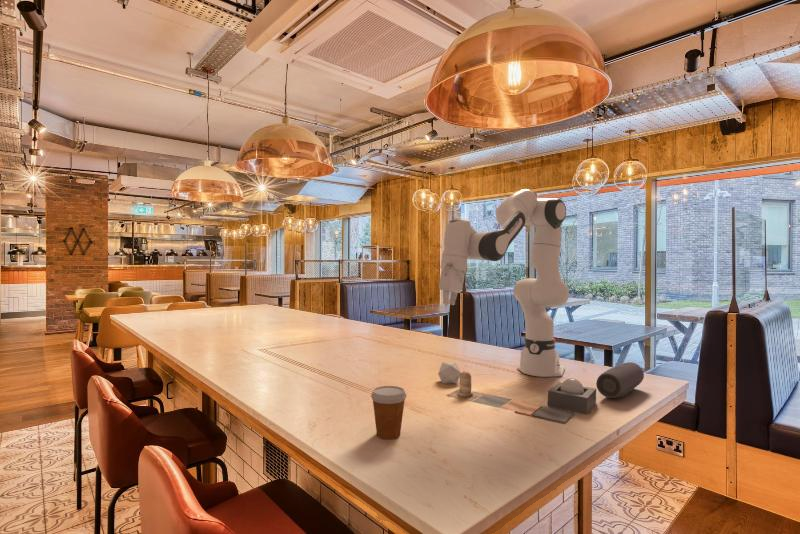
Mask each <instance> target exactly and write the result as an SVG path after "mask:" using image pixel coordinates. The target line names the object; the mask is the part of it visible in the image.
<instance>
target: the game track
mask: <svg viewBox="0 0 800 534" xmlns="http://www.w3.org/2000/svg"><path fill="white" fill-rule="evenodd" d="M458 390H460V388H459V389H456V390H455V391H452V392H450V393H448V394H446V395H445V396H447V397H451V398H454V399H460V400H462V401H463V400H464V401H468V402H473V403H478V404H483V405H485V406H486V405H487V406H491V407H496V408H498V409H499V408H500V409H504V410H509V411H514V413H516V414H519V415H525V416H529V417H534V418H539V419H543V420H547V421H552V422H557V423H560V424H565V425H566V423H567V422H568V421H569V420H570V419H571V418H572V417H573V416H574V415H575V412H574V411H569V410H564V409H559V408H554V407H550V406H548V405H547V406H545V405H542V404H536V403H531V402H526V401H524V400H523V401H521V400H516V399H512V398H509V397H503V396H497V395H494V394H493V395H492V394H488V393H483V392H479V391H475V390H472V391H473V396H471V397H462V396H459V395H458Z"/></svg>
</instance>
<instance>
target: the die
mask: <svg viewBox="0 0 800 534" xmlns="http://www.w3.org/2000/svg"><path fill="white" fill-rule="evenodd" d="M461 373H462V371H461V369H460V367H459V366H458V364H457V362H454V361H453V362H452V361H451V362H450V361H449V362H448V361H444V362H441V365H440V367H439V369H438V373H437V375H438V377H439V379H440V381H441V383H442V384H450V385H451V384H458V382H459V381H460V374H461Z"/></svg>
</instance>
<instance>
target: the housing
mask: <svg viewBox="0 0 800 534" xmlns="http://www.w3.org/2000/svg"><path fill="white" fill-rule="evenodd" d="M562 383H563V382H557V383H556V384H555V385H553V386H552V387H551V388H549V389H548V390H547V407H552V408H557V409H561V410H566V411H571V412H574V413H580V414H584V415H588V414H589V413H590V412H591V410H592V409H593V408H594V407H595V406H594V405H597V388H594V387H589V386H584V385H583V389H584V394H583V395H579V394H573V393H568V392H562V391H560V389H561V386H562Z"/></svg>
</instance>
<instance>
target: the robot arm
mask: <svg viewBox="0 0 800 534" xmlns="http://www.w3.org/2000/svg"><path fill="white" fill-rule="evenodd" d="M566 215H567V206H566V204H565V202H564V201H563V200H562V199H560V198H555V197H551V198H538V197H537V195H536V194H535V192H533V190H530V189H527V188H523V189H520V190H518V191H516V192H514V193H513V194H511V195H510V196H507V198H505V199H504V200H503V201H502V202H501V203H500V204H499V205H498V207H497V208H496V210H495V218H496V220H497V222H498V224H499V225H500V228H499V229H497V230H496V231H495V230H494V231H487V232H485V231H483V232H478V231H477V230H475V229H474V228H473V226H472V224H471V221H470V220H468V219H464V218H463V219H462V218H461V219H460V218H459V219H457V218H456V219H451V220H449V221H448V223H447V224H446V227H445V230H444V231H445V232H444V238H443V251H442V254H441V261H440V269H441V270H440V271H441V272H440V277H439V284H438V289H439V290H440V291H442V305H445V306H446V305H447V306H448V305H449V306H454V305H456V300H457V296H458V294H460V293H462V291H463V285H464V281H465V274H467V271H468V265H467V264H468V260H476V261H477V260H478V261H480V260H481V261H489V262H490V261H491V262H498V261H500V260H502V259H503V257H504V256H505V255H506V253H507V251H508V248H509V247H510V245H511V244H512V243H513V241H514V240H515V239H516V238H517V236H518V235H519V234H520V232H521V231H522V230H523V228H524V227H535V233H534V237H533V242H532V249H531V255H530V264H531V266H532V267H533V268H535V272H536V273H537V276H536V278H532V277H531V278H530V277H527V278H523V279H520V280H518V281H516V282H515V284H514V286H513V290H512V291H513V296H514V297H515V300H517V301H518V302H519V304H520V307H521V309H522V312H523V314H524V321H525V337H524V340H523V343H524V344H523V345H524V348H523V349H521V351H520V361H519V365H518V366H516V370H518V371H520V372H521V373H523V374H526V375H529V376H533V377H542V378H543V377H544V378H546V377H547V378H549V377H550V378H551V377H563V375H564V372H565V369H566V366H565V365H562V364H560V355H559V353H558V352H557V350H556V338H555V337H554V319H553V318H552V317H551V316H550V315H549V313H548V312H547V310H546V307H550V308H554V307H555V308H556V307H561V306H564V305H565V304H566V303H567V302H568V300H569V297H570V290H569V287H568V286H567V284H566V283H565V282H564V281H563V279H562V277H561V273H560V269H559V268H560V267H559V265H560V263H559V262H560V254H561V246H562V227H561V225H562V224H563V222H564V221H565V219H566Z"/></svg>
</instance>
